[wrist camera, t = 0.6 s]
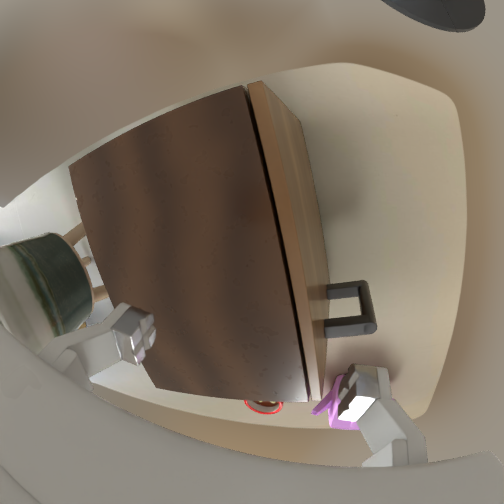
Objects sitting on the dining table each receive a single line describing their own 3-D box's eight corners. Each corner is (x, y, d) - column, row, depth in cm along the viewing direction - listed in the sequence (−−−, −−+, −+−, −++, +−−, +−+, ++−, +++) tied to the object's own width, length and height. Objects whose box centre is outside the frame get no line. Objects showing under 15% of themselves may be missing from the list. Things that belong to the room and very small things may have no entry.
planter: (108, 181, 49) (-37, 230, 19) (167, 266, 52) (38, 373, 22) (71, 237, 58) (-33, 293, 28) (118, 306, 61) (25, 388, 31)
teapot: (312, 399, 55) (306, 434, 46) (319, 369, 51) (313, 407, 42) (385, 403, 50) (387, 437, 41) (400, 374, 46) (406, 410, 37)
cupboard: (291, 122, 36) (242, 84, 14) (322, 285, 44) (308, 402, 22) (185, 151, 42) (68, 166, 20) (224, 293, 50) (155, 387, 28)
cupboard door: (338, 114, 34) (352, 62, 12) (364, 280, 42) (382, 395, 20) (293, 122, 36) (246, 84, 15) (324, 285, 44) (311, 400, 22)
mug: (289, 352, 51) (281, 380, 44) (288, 390, 55) (282, 416, 48) (251, 349, 53) (239, 375, 46) (255, 386, 57) (245, 411, 50)
